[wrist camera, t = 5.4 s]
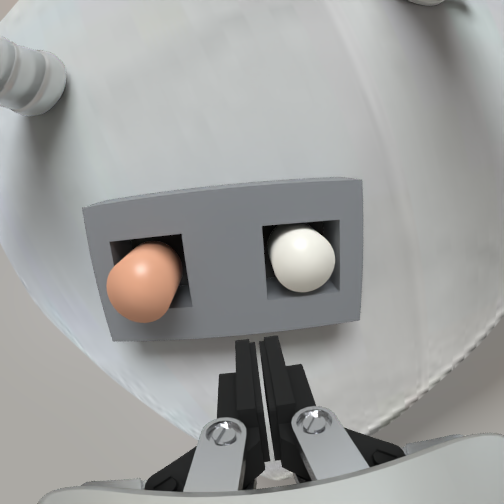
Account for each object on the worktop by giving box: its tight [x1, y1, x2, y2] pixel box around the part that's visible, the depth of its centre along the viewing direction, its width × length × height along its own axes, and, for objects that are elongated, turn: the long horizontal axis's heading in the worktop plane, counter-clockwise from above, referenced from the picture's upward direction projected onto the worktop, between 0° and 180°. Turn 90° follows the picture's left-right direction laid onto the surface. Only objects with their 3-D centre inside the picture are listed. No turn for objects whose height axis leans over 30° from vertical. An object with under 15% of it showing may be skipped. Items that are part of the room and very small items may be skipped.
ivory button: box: [267, 222, 335, 292], centre depth 26 cm, size 5×5×5 cm
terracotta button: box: [106, 241, 183, 323], centre depth 22 cm, size 5×5×5 cm
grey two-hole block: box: [82, 177, 363, 341], centre depth 26 cm, size 22×12×5 cm, turn 95°
